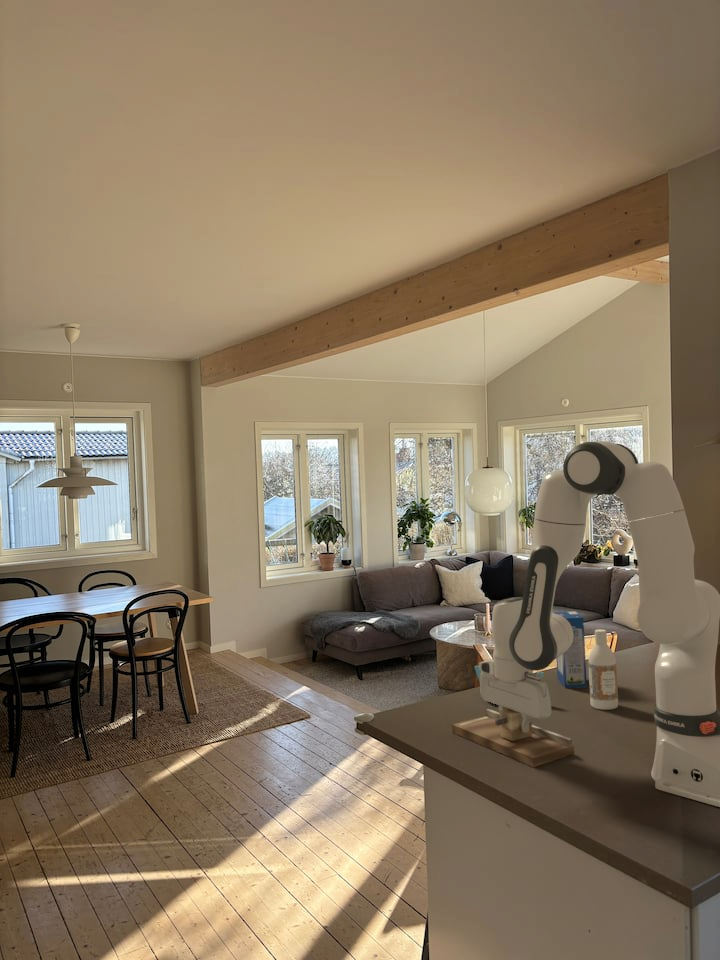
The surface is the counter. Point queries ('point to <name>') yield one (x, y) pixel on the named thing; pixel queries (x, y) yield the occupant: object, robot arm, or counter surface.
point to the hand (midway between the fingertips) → (516, 728)
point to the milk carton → (573, 655)
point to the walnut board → (525, 750)
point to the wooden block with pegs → (511, 725)
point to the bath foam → (602, 674)
